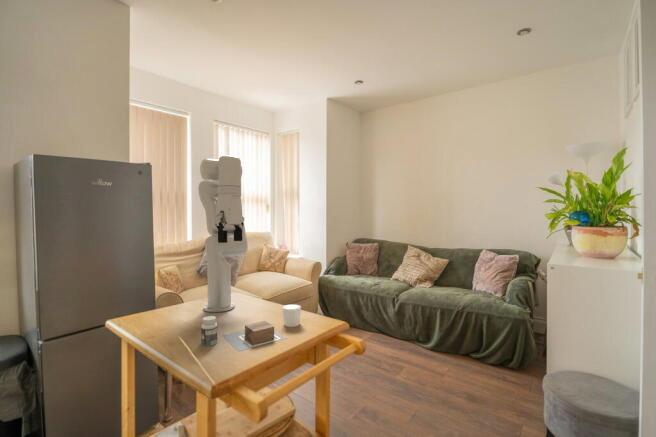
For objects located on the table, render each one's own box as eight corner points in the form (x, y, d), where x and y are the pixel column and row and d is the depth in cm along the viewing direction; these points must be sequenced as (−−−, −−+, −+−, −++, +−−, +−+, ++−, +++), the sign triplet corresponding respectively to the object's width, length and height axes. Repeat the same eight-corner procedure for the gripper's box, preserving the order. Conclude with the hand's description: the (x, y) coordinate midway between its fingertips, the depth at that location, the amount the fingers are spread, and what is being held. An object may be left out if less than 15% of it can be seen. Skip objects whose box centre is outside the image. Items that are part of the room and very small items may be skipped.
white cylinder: (300, 329, 112) (300, 309, 112) (280, 329, 112) (280, 309, 112) (301, 322, 119) (301, 303, 119) (283, 322, 119) (283, 303, 119)
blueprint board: (221, 337, 105) (221, 335, 105) (266, 326, 114) (266, 324, 114) (239, 353, 93) (239, 350, 93) (286, 340, 102) (286, 337, 102)
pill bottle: (202, 342, 101) (202, 316, 101) (218, 340, 102) (218, 314, 102) (200, 348, 96) (200, 321, 96) (216, 347, 97) (216, 319, 97)
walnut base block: (244, 337, 103) (244, 325, 103) (264, 332, 108) (264, 320, 107) (253, 344, 98) (253, 331, 98) (274, 338, 102) (274, 326, 102)
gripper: (233, 194, 119) (234, 240, 119) (205, 190, 102) (205, 243, 102) (251, 194, 117) (252, 240, 117) (225, 189, 100) (226, 243, 100)
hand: (230, 241), depth 109 cm, fingers open, 9 cm apart
